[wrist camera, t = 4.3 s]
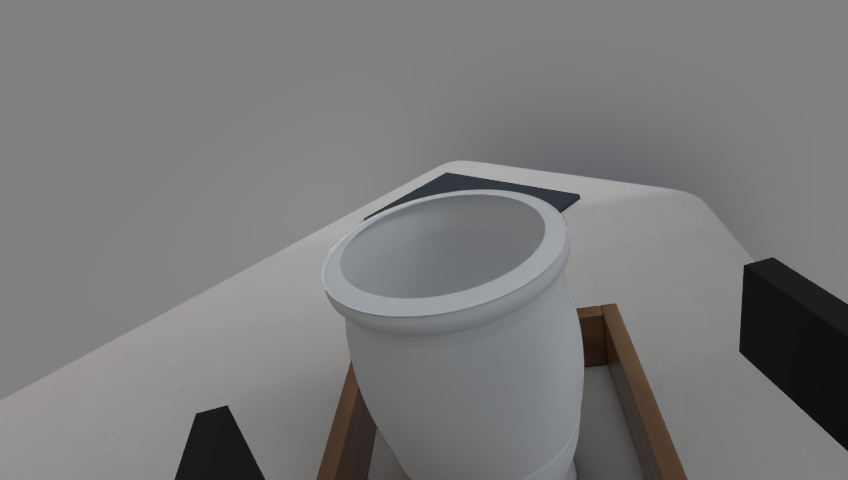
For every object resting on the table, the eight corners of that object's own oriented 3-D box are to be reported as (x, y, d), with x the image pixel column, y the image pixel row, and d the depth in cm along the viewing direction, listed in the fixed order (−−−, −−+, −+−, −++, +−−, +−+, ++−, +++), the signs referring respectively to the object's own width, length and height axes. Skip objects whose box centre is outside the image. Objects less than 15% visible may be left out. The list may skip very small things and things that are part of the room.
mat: (580, 198, 57) (579, 194, 57) (493, 261, 50) (492, 257, 49) (447, 175, 71) (446, 172, 71) (364, 222, 64) (363, 218, 64)
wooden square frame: (619, 352, 36) (616, 302, 34) (736, 670, 20) (740, 609, 18) (372, 381, 39) (357, 337, 37) (305, 679, 23) (272, 627, 21)
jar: (367, 485, 31) (278, 261, 24) (494, 383, 36) (449, 173, 29) (500, 630, 23) (421, 355, 16) (641, 473, 28) (625, 212, 21)
